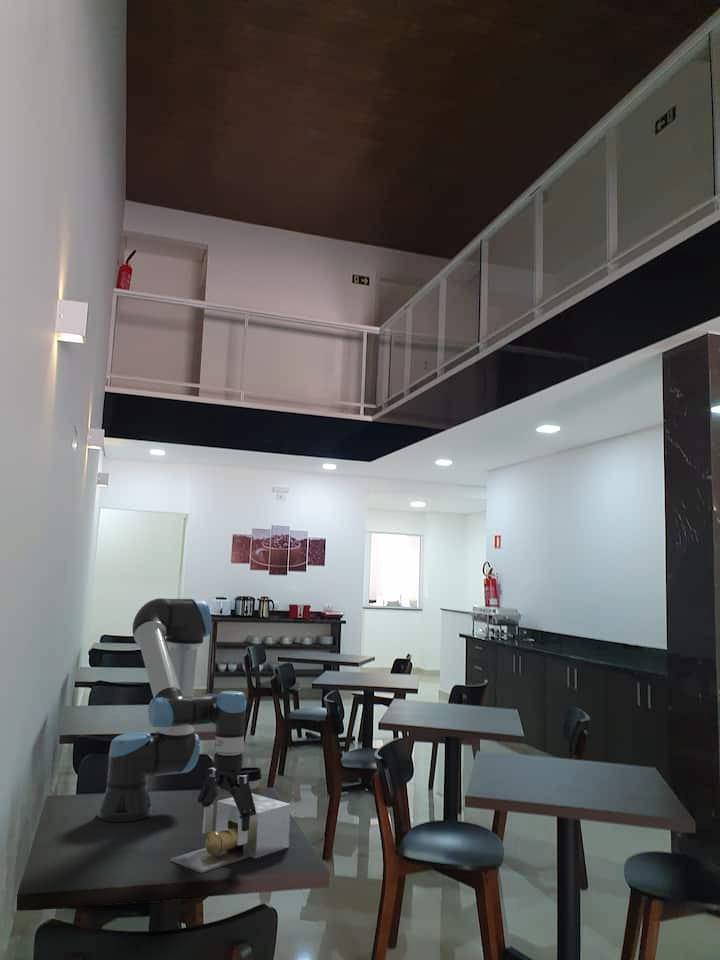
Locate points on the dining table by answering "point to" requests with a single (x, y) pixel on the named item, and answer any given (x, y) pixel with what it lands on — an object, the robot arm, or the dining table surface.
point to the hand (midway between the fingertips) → (224, 838)
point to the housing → (262, 838)
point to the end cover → (221, 841)
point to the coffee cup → (252, 778)
